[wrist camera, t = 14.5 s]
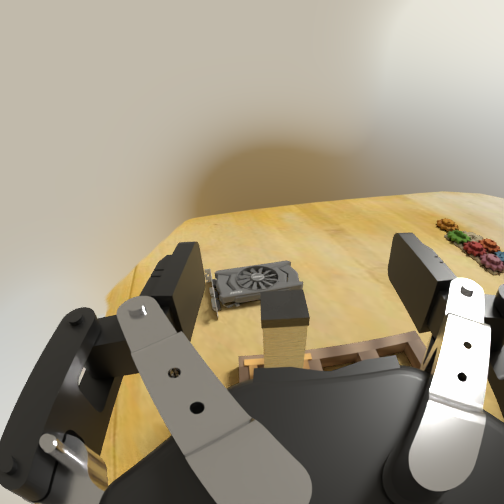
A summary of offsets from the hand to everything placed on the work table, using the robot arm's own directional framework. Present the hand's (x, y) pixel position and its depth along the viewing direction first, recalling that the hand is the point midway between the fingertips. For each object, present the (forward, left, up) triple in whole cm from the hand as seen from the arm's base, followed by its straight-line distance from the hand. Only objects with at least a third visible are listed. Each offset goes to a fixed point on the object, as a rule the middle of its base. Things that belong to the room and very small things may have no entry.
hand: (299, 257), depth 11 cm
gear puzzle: (-74, +13, -26) cm, 80 cm away
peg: (-8, -7, -25) cm, 27 cm away
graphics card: (-22, -24, -26) cm, 41 cm away
